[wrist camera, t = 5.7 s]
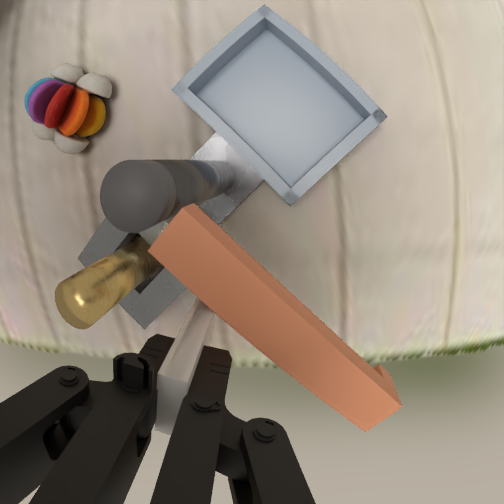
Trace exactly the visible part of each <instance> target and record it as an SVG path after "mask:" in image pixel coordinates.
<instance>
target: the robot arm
mask: <svg viewBox="0 0 504 504" xmlns="http://www.w3.org/2000/svg"><path fill="white" fill-rule="evenodd" d="M215 315H216V313H215V312H214V311H213V310H211V309H210V308H209V307H208V306H207V305H206V304H205V303H204V302H202V301H201V300H200V299H199V298H198V297H197V299H196V301H195V303H194V305H193V307H192V308H191V310H190V312H189V314H188V316H187V318H186V320H185V322H184V324H183V325H182V327H181V329H180V331H179V333H178V335H177V337H176V339H175V338H171V337H167V336H163V335H160V334H156V335H154V336H153V337H151V338H149V339H148V340H147V342H146V343H145V345H144V347H143V348H142V349H141V351H140V353H139V354H136V353H123V354H120V355H117V356H116V357H115V358H114V359H113V373H114V379H113V380H112V381H110V382H100V381H92V380H89V379H88V376H87V374H86V373H85V372H84V371H83V370H82V369H80V368H78V367H75V366H62V367H59V368H56V369H55V370H53V371H52V372H50V373H48V374H47V375H45V376H43V377H42V378H40V379H38V380H37V381H35V382H34V383H32V384H31V385H29V386H27V387H26V388H24V389H22V390H21V391H19V392H18V393H16V394H15V395H13V396H11V397H9V398H8V399H6V400H5V401H3V402H1V403H0V504H18V503H20V502H21V501H22V500H23V499H24V498H25V497H27V496H28V495H29V494H30V493H31V492H32V491H34V490H35V489H36V488H37V487H38V486H39V485H40V487H39V488H38V490H37V492H36V493H35V495H34V496H33V498H32V499H31V501H30V503H29V504H123V503H124V501H125V499H126V496H127V494H128V492H129V489H130V487H131V485H132V482H133V480H134V478H135V476H136V473H137V471H138V469H139V466H140V464H141V462H142V459H143V457H144V455H145V453H146V450H147V448H148V446H149V444H150V441H151V430H152V428H153V426H154V423H155V430H156V431H160V432H162V433H166V434H169V435H171V437H170V441H169V444H168V447H167V450H166V453H165V457H164V460H163V463H162V466H161V469H160V473H159V476H158V479H157V482H156V486H155V489H154V492H153V496H152V499H151V502H150V504H210V503H211V496H212V490H213V483H214V476H215V471H217V472H219V473H221V474H223V475H225V476H228V481H229V485H230V490H231V494H232V499H233V504H316V503H315V501H314V499H313V497H312V494H311V492H310V489H309V487H308V485H307V482H306V480H305V478H304V475H303V473H302V470H301V468H300V465H299V463H298V460H297V458H296V456H295V453H294V451H293V448H292V446H291V444H290V441H289V438H288V436H287V433H286V431H285V430H284V428H283V427H282V426H281V425H280V424H278V423H277V422H275V421H273V420H270V419H266V418H255V419H251V420H249V421H248V422H245V421H243V420H241V419H239V418H237V417H235V416H233V415H232V414H231V413H230V412H229V411H228V410H227V408H226V406H225V394H226V389H227V384H228V378H229V373H230V368H231V362H232V358H231V355H230V353H229V351H227V350H223V349H218V348H214V347H210V342H211V337H212V331H213V326H214V321H215Z"/></svg>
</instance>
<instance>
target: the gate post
mask: <svg viewBox="0 0 504 504" xmlns="http://www.w3.org/2000/svg"><path fill="white" fill-rule="evenodd" d="M152 161H156V162H158V163H160V164H162V165H163V166H164V167H165V168H166V169H167V170H168V171H169V172H170V174H171V175H172V177H173V179H174V182H175V186H176V201H175V205H174V207H173V209H172V211H171V213H170V214H169V216H168V217H167V218H166V219H165V220H167V219H169V218H171V217H173V216H175V215H177V214H178V212H179V211H180V210H181V209H182V208H183V207H185V206H188V205H190V204H192V203H194V204H196V205H199V206H200V207H201V208H202V209H203V210H204V211H205V212H206V213H207V214H208V215H209V216H210V217H211V218H212V219H213V220H214V221H215V222H216V223H217V224H218V225H219V224H220V223H221V222H222V221H223V220H224V219H225V218H226V217H227V216H228V215H229V214H230V213H231V212H232V211H233V210H234V209H235V208H236V207H237V206H238V205H239V204H240V203H241V202H242V201H243V200H244V199H245V198H246V197H247V196H248V195H249V194H250V193H251V192H252V191H253V190H254V189H255V188H256V187H258V186H259V185H260V184H261V183H262V182H263V181H264V179H263V178H262V177H261V176H260V175H259V174H258V173H257V172H256V171H255V170H254V169H253V168H252V167H251V166H250V165H249V164H248V163H247V162H246V161H245V160H244V159H243V158H242V157H241V156H240V155H239V154H238V153H237V152H236V151H235V150H234V149H233V148H232V147H231V146H230V145H229V144H228V143H227V142H226V141H225V140H224V139H223V138H222V137H221V136H220V135H219V134H218V133H217V132H216V133H215V134H214V135H213V136H212V137H211V138H210V139H209V140H208V141H207V142H206V143H205V144H204V145H203V146H202V147H201V148H200V149H199V150H198V151H197V152H196V153H195V154H194V156H193V157H192V158H191V159H190V160H152ZM165 220H163V221H165ZM163 221H162V222H163ZM160 223H161V222H160Z"/></svg>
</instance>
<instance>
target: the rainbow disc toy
mask: <svg viewBox="0 0 504 504" xmlns="http://www.w3.org/2000/svg"><path fill="white" fill-rule="evenodd" d="M51 76H53V77H54V78H44V79H41V80H39V81H37V82H35V83H34V84H33V85H32V86H31V87H30V88H29V90H28V91H27V93H26V96H25V108H26V110H27V112H28V114H29V115H30V117H31V118H32V120H33V121H32V129H33V132H34V134H35V135H36V136H37V137H38V138H40V139H43V140H53V139H54V141H55V144H56V146H57V148H58V149H59V150H61V151H62V152H65V153H68V154H76V153H79V152H80V151H82V150H83V149H84V148H85V147H86V146H87V145H88V143H89V141H88V139H87V138H85V137H86V136H90V135H92V134H94V133H96V132H97V131H98V130H99V129H100V128H101V127H102V126H103V124H104V121H105V116H106V109H105V105H104V103H103V100H102V99H100V98H98V97H96V96H94V95H92V94H89V93H94V94H97V95H99V96H102V97H105V98H110V97H111V93H112V85H111V82H110V80H109V79H108V78H105V77H103V76H101V75H99V74H96V73H94V72H92V73H88V74H86V75H84V73H83V71H82V69H81V68H79V67H77V66H74V65H71V64H68V63H65V64H62V65H60V66H58V67H57V68H55V69H54V71H53V72H52V73H51ZM75 85H77V88H76V86H75Z"/></svg>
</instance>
